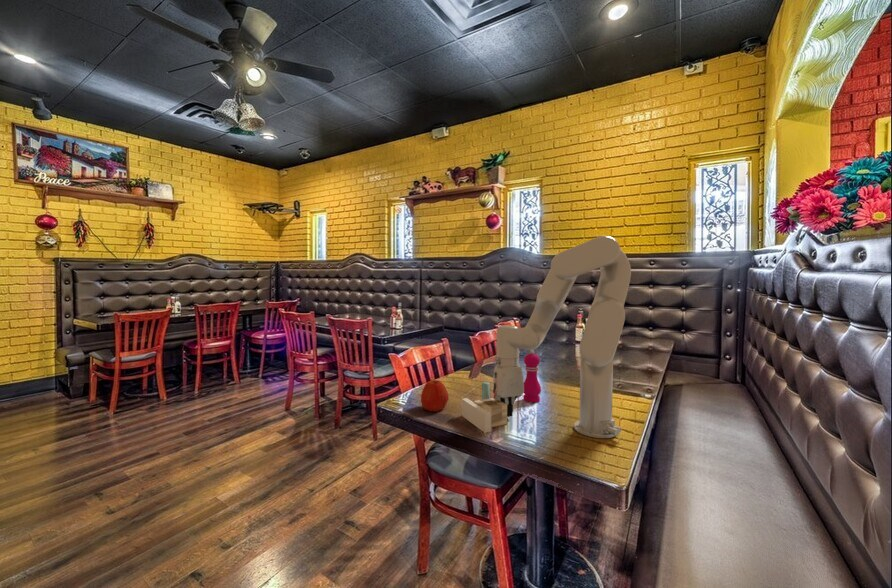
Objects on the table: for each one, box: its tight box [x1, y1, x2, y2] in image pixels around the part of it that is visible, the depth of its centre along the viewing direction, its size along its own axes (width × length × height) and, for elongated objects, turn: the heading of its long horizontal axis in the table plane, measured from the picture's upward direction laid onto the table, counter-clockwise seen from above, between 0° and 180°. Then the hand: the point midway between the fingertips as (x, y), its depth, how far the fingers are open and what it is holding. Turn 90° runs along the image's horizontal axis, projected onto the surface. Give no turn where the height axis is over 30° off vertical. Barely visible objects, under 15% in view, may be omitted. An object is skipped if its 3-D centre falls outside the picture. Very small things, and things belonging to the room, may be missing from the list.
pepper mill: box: [522, 350, 542, 404], centre depth 146 cm, size 7×7×20 cm
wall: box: [461, 397, 492, 434], centre depth 123 cm, size 16×2×6 cm, turn 25°
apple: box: [420, 379, 449, 412], centre depth 137 cm, size 10×10×10 cm
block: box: [473, 397, 508, 428], centre depth 124 cm, size 8×8×6 cm
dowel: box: [481, 381, 491, 400], centre depth 135 cm, size 3×3×10 cm
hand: (507, 415), depth 127 cm, fingers closed
